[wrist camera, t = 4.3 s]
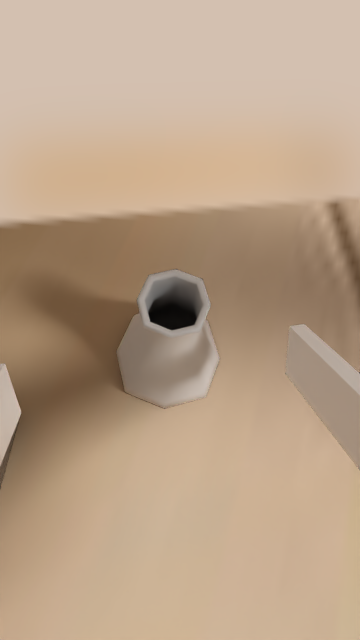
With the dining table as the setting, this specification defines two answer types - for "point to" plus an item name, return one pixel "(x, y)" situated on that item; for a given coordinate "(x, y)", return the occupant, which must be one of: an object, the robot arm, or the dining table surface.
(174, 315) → the flask
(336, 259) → the dining table surface
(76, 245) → the dining table surface
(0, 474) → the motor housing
